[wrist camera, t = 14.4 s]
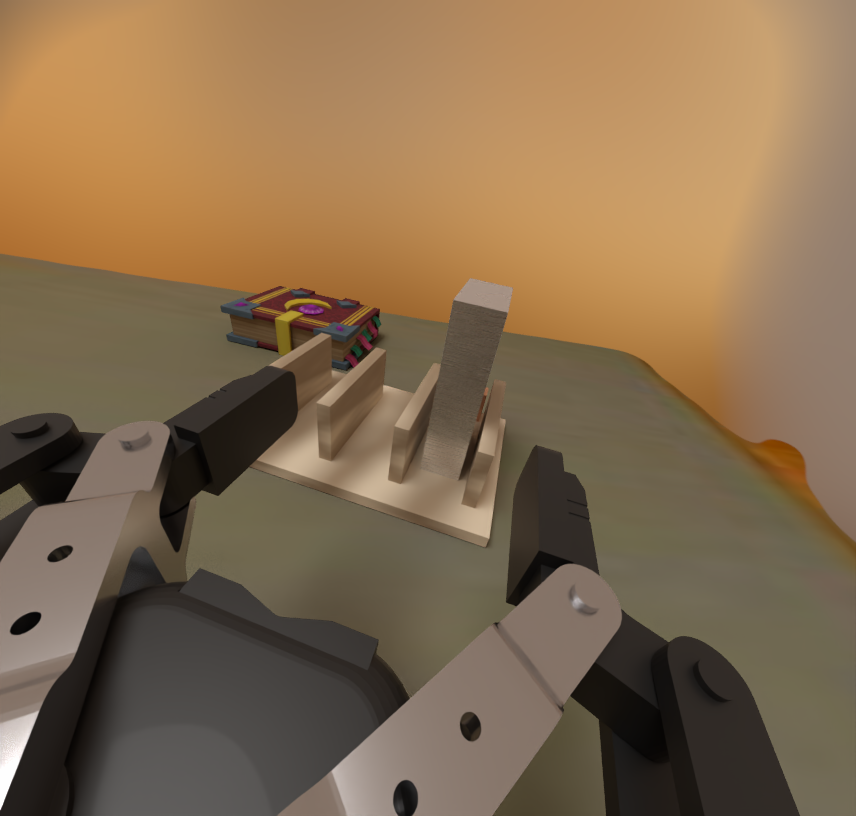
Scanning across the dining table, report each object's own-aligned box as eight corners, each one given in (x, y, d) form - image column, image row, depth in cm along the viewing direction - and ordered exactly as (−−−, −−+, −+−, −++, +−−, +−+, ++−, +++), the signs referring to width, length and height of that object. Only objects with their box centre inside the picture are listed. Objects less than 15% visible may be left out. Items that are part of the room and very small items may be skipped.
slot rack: (222, 457, 24) (204, 389, 21) (322, 375, 36) (320, 323, 32) (485, 547, 22) (512, 485, 18) (502, 427, 33) (521, 376, 30)
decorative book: (283, 315, 48) (279, 280, 45) (387, 340, 47) (390, 305, 44) (227, 343, 39) (218, 301, 36) (354, 375, 37) (356, 334, 35)
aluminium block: (420, 469, 25) (453, 299, 18) (438, 425, 30) (470, 278, 23) (457, 480, 25) (507, 312, 17) (470, 434, 30) (513, 287, 22)
